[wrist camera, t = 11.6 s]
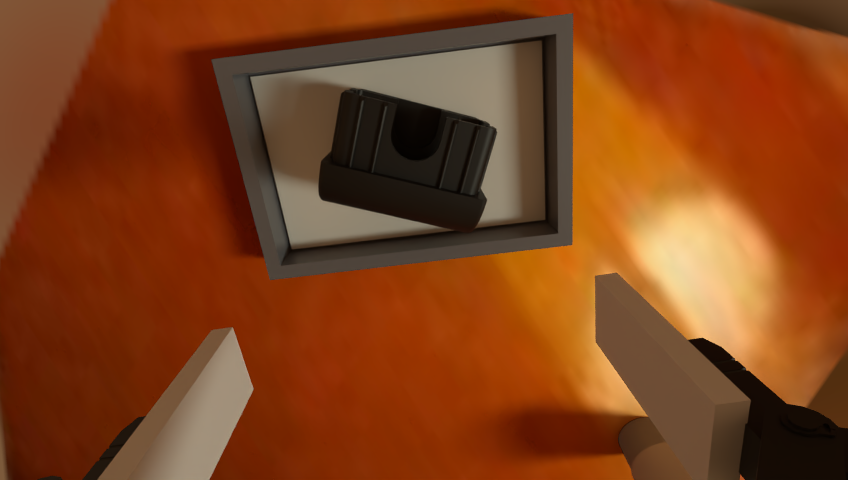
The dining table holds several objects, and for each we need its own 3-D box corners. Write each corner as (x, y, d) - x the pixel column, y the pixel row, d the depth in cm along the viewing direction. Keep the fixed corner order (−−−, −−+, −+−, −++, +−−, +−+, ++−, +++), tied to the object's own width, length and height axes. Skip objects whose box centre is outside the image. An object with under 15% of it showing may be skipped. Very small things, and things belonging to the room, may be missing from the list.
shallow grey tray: (283, 260, 36) (269, 279, 33) (233, 60, 31) (211, 59, 27) (557, 228, 36) (572, 244, 32) (555, 19, 30) (572, 13, 27)
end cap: (331, 184, 33) (311, 212, 27) (348, 85, 30) (331, 89, 24) (462, 214, 34) (473, 248, 28) (489, 120, 31) (508, 133, 25)
